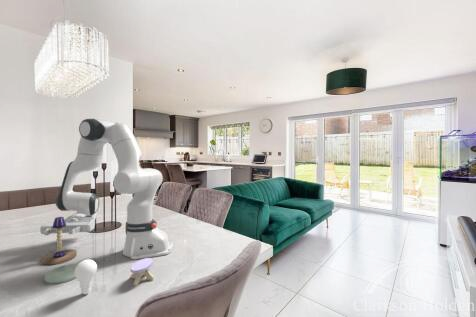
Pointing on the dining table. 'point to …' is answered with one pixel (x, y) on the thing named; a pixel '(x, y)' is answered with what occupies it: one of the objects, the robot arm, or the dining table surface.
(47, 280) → the sage coaster
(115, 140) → the robot arm
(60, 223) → the toy lamp
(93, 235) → the dining table surface
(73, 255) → the walnut coaster
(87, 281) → the lightbulb
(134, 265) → the toy table
